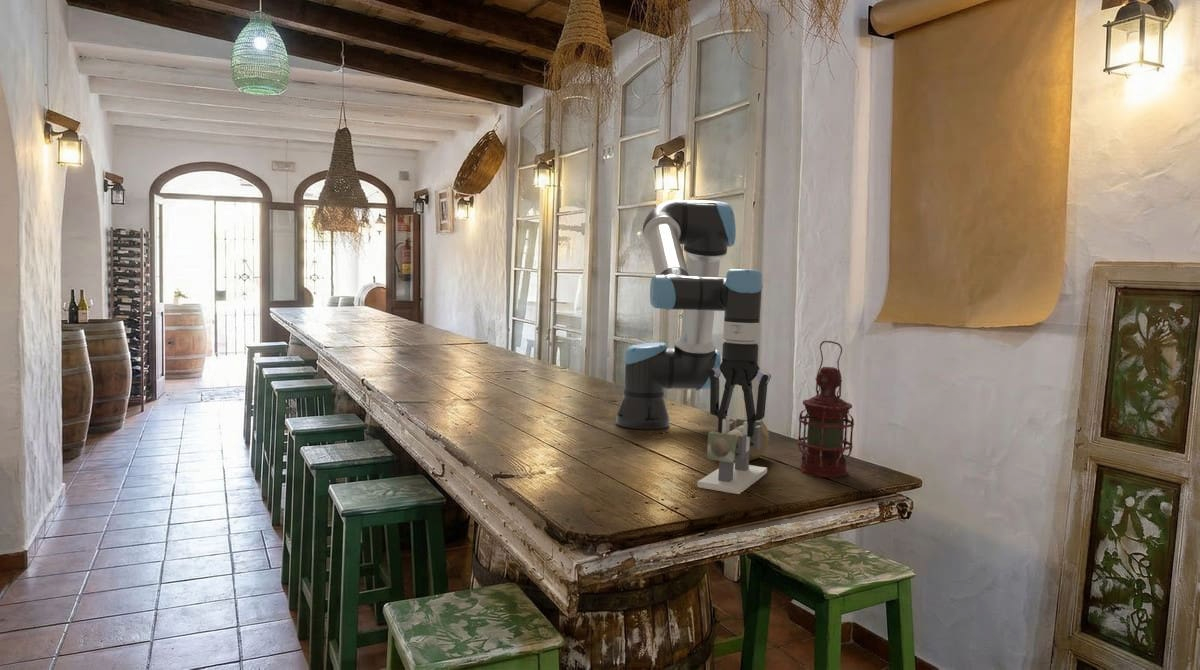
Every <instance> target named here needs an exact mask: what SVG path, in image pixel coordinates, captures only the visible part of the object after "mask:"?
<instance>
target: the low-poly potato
mask: <svg viewBox="0 0 1200 670" xmlns="http://www.w3.org/2000/svg"><path fill="white" fill-rule="evenodd" d="M745 419H747V417H746V418H745ZM759 421H762V431H761V448H760V449H758V450H751V449H750V452H749V462H750V461H753V460H756V459H758V458H759V457H760V456H761V455H763V453H764V452H765V451H766V450H767V447H768V444H769V442H770V431H769V429H768V427H767V426H766V425H765V422H764V421H763V419H761V420H759ZM735 428H736V425H735V426H734V429H735ZM717 433H719V432H718V429H717ZM735 453H736V450H735Z"/></svg>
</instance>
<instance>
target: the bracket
mask: <svg viewBox="0 0 1200 670" xmlns="http://www.w3.org/2000/svg"><path fill="white" fill-rule="evenodd" d="M734 425H735V422H734V421H730V427H729V432H730V431H732V430H733V429H734ZM717 430H718V429H717ZM717 430H716V429H712V430H711V431H710V432H717ZM761 431H762V426H760V425H758V426H756V427H755V434H754V443H750V446H749V451H747V452H746V437H747V434H742V435H740V436H739V441H738V449H737V450H736V453H735V461H734V462H732V463H731V462H724V461H718V468H717V469H716V470H714V471H712V472H711V473H709V474H707V475H705V476H704V477H702V478H700V479H699V480H698V481H697V488H701V489H707V490H711V491H712V490H713V491H719V492H724V493H730V494H736V495H740V494H741V492H742V493H743V492H744V491H745V490H747V489H749V487H750V486H752V485H753V484H755V483H756V482H757V481H759V480H760V479H761V478H762V477H764V476H765V475H766V474H767V473H768V467H765V466H758V465H753V464H750V461H749V452H750V449H751V450H758V449H760V448H761Z"/></svg>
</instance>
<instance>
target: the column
mask: <svg viewBox="0 0 1200 670" xmlns="http://www.w3.org/2000/svg"><path fill="white" fill-rule="evenodd" d="M746 420H747V419H746V418H743V417H737V418H736V419H735V421H736V422H735V426H736V428H735V429H733V430H732V431H730V432H728V433H726V434H724V433H717V432H711V431H709V432H708V433H707V449H706V450H707V451H706V452H707V453H706V459H707V460H712V461H718V462H719V461H724V462H731V463H732V462H734V463H735V450H737V449H738V441H739V436H740V435H742V434H743V424H744V422H745V421H746ZM762 421H763V420H762ZM762 421H759V420H758V421H756V422H755V427H756V426H758V425H760V426H762ZM750 443H754V436H753V437H750Z"/></svg>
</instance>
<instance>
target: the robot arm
mask: <svg viewBox="0 0 1200 670" xmlns="http://www.w3.org/2000/svg"><path fill="white" fill-rule="evenodd" d="M735 218H736V217H735V213H734V209H733V208H732V206H731V205H730V203H727V202H725V201H724V202H723V201H716V200H693V199H692V200H688V199H687V200H685V199H683V200H682V199H670V200H667V201H664V202H662V203H660V204H658V205H656V206H655V208H652V210H651V211H650V212H649V213H648V214H647V216H646V217H645V219H644V222H643V225H642V235H643V240H644V242H645V244H646V245H647V246H648V248H649V250H650V254H651V255H650V256H651V258H652V260H651V261H652V263H653V268H654V273H655V275H653V276H652V277H651V280H650V286H649V300H650V301H649V302H650V305H651V306H652V308H654V309H659V310H660V309H661V310H666V311H670V310H682V312H683V313H682V321H681V332H680V333H681V334H680V337H678V338H677V339H676V340H675V341H674V347H668V345H667V343H665V342H645V343H643V342H642V343H638V344H633V345H631V346H628V347H627V348H626V350H625V355H624V356H625V357H624V361H623V362H624V363H623V365H624V376H623V396H622V400H621V403H620V405H619V408H618V410H617V414H616V417H615V418H616V419H615V420H616V421H615V423H616V425H617V426H620V427H623V428H627V429H628V428H629V429H635V430H660V429H661V430H662V429H666V428H668V427H669V426H670V415H669V412H668V409H667V405H666V401H665V391H666V390H695V391H700V390H709V391H710V393H709V394H710V395H709V401H710V402H709V404H710V405H709V413H710V414H711V415H712V416H713V415H714V416H715V417H717V419H718V422H717V423H718V424H717V430H718V432H719V433H724V434H726V433H728V432H729V427H730V422H731V418H730V417H727V416H728V411H729V408H730V403H731V400H732V396H733V392H734V389H735V387H736V386H739V387H741V389H742V390H741V391H742V393H743V399H744V407H745V413H746V418H747V420H746V421H745V422H744V424H743V434H747V437H746V452H747V451H749V446H750V437H753V436H754V434H755V422H756V421H758V420H761V419H762V420H763V419H764V418H765V416H766V415H765V414H766V403H767V392H768V384H769V382H770V380H771V379H772V375H771V374H770V373H765V372H764V371H762V370H760V366H759V364H758V362H759V344H758V343H757V342H759V340H760V323H761V305H762V291H763V278H762V275H763V274H762V272H761V271H760V270H759V269H740V268H737V269H736V268H730V269H728V270H727V272H726V276H725V277H722V276H720V277H719V273H720V265H721V259H722V258H724V256H726V255H727V253H728V247H729V248H730V247H733V246H735V242H736V237H737V236H736V234H737V233H736V229H737V228H736V219H735ZM682 245H683V248H682ZM683 251H684V252H685V254H686V255H687V257H688V259H687V263H686V259H685V257H684V252H683ZM716 311H718V312H724V315H723V317H724V318H723V332H722V333H723V335H722V336H723V337H722V338H723V340H725V341H724V342H723V343H722V351H721V352H720V351H719V350H718V349H717V345H716V344H715V342H714V341H713V340H712V338H713V337H712V336H713V327H714V319H715V318H714V317H715V312H716ZM721 353H722V354H721ZM721 374H722V376H723V378H724V379H725V383H724V387H723V388H724V389H723V393H722V398H721V401H720V377H721ZM756 377H757V381H758V388H757V389H758V390H757V399H756V409H755V403H754V402H755V400H754V395H753V384H752V383H753V380H754V379H755V378H756Z"/></svg>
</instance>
